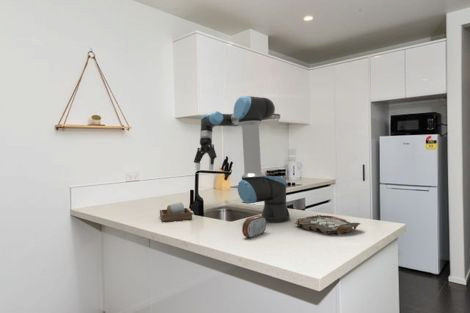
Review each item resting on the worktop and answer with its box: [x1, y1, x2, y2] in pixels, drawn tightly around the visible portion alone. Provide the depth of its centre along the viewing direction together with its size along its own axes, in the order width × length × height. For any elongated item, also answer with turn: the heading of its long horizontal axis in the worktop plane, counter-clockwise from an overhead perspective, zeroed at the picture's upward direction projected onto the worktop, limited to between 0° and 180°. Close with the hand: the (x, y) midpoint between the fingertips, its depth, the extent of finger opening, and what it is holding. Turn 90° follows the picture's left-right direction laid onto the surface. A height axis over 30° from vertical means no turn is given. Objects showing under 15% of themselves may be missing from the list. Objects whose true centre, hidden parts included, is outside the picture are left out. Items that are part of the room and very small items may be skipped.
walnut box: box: [159, 207, 193, 223], centre depth 184 cm, size 16×16×4 cm
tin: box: [241, 214, 267, 239], centre depth 145 cm, size 15×3×8 cm, turn 141°
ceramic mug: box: [166, 202, 185, 214], centre depth 182 cm, size 11×8×8 cm
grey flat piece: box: [294, 214, 362, 235], centre depth 155 cm, size 30×22×5 cm
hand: (204, 171), depth 204 cm, fingers open, 13 cm apart
